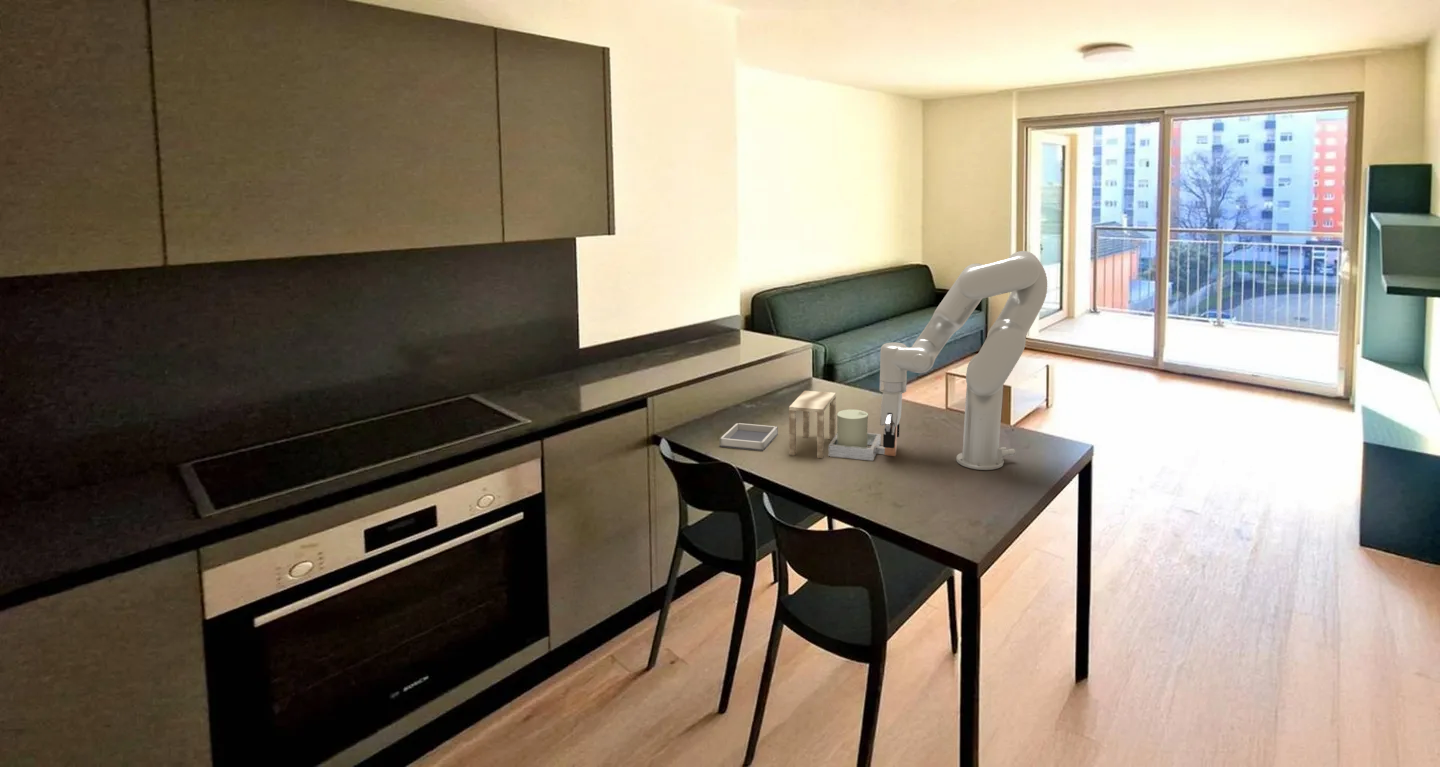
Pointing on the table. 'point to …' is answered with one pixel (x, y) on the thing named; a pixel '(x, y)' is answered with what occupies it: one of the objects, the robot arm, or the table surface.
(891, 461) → the table surface
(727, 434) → the tray
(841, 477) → the table surface
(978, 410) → the robot arm
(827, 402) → the wooden stool
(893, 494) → the table surface
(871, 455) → the shallow grey tray
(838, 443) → the can
